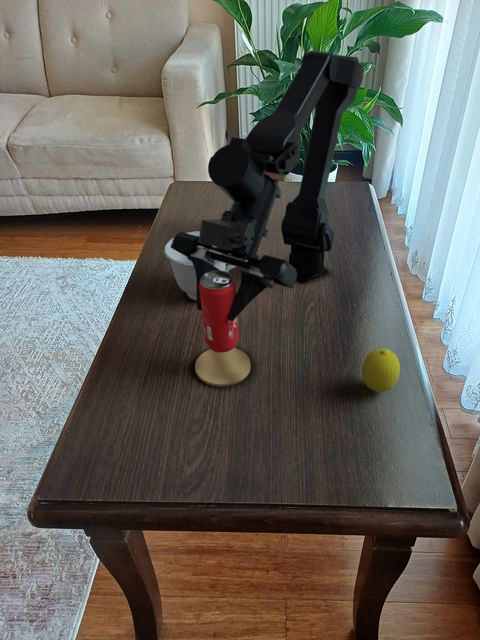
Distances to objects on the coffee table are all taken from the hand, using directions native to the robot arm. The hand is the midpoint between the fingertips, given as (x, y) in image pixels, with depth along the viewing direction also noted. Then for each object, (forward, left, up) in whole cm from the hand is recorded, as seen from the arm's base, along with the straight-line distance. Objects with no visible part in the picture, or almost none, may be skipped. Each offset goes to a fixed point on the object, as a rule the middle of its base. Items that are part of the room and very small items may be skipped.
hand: (214, 314), depth 77 cm
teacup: (-10, -21, -12) cm, 26 cm away
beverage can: (-1, -1, -7) cm, 7 cm away
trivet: (-1, -1, -11) cm, 12 cm away
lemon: (-18, +17, -12) cm, 28 cm away
